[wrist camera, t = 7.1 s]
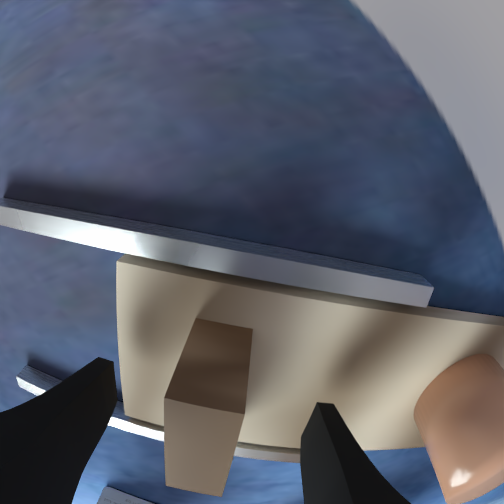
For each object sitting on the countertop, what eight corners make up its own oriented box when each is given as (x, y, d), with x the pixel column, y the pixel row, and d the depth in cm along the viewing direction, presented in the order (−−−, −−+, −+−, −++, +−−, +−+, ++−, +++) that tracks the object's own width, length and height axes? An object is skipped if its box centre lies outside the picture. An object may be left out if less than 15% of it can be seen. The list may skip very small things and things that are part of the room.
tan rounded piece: (513, 354, 11) (565, 416, 6) (467, 426, 13) (499, 490, 8) (444, 352, 11) (499, 436, 6) (396, 432, 12) (422, 513, 8)
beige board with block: (526, 319, 11) (580, 372, 7) (459, 430, 14) (487, 489, 9) (128, 251, 11) (52, 317, 6) (131, 401, 14) (95, 478, 9)
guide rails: (420, 274, 11) (434, 287, 10) (337, 447, 14) (340, 464, 13) (2, 197, 11) (-16, 203, 10) (29, 374, 14) (19, 386, 13)
